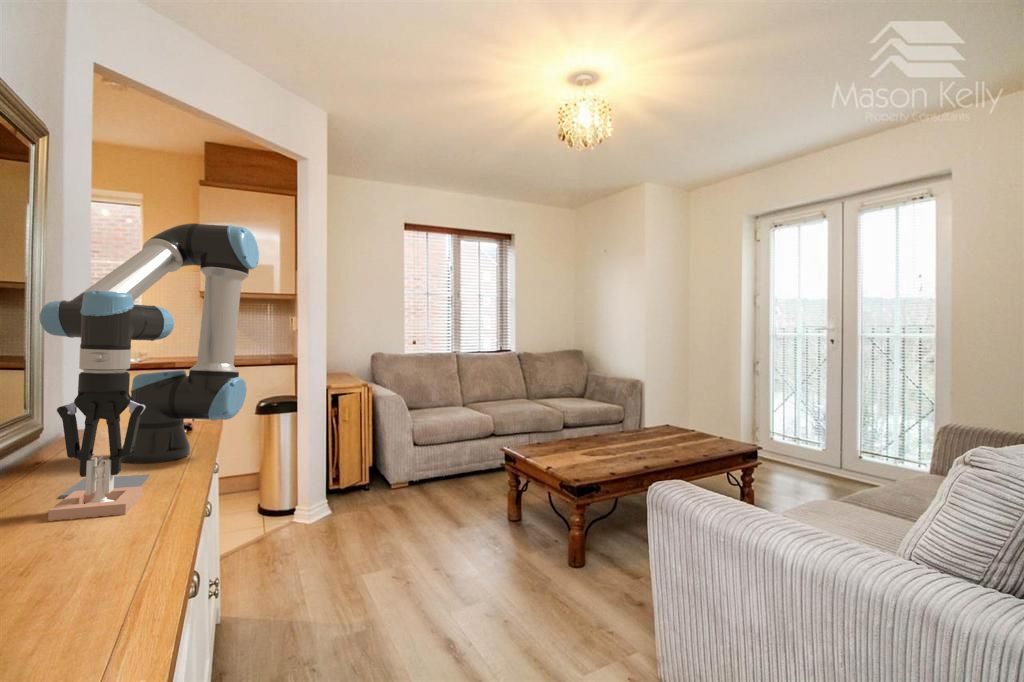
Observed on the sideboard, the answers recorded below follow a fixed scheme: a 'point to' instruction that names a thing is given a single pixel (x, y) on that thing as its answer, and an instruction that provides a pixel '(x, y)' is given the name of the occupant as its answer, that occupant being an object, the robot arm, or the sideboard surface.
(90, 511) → the pocket holder
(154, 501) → the sideboard surface
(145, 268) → the robot arm
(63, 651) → the sideboard surface
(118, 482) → the mat
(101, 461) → the chess piece
